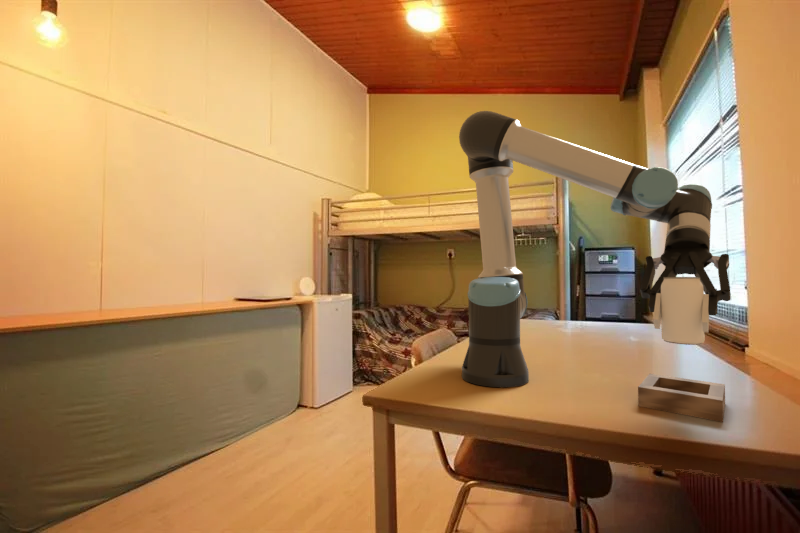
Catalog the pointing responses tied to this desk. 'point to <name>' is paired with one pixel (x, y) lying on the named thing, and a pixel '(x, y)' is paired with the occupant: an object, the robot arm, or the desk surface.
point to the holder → (683, 396)
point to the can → (682, 310)
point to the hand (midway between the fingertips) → (680, 325)
